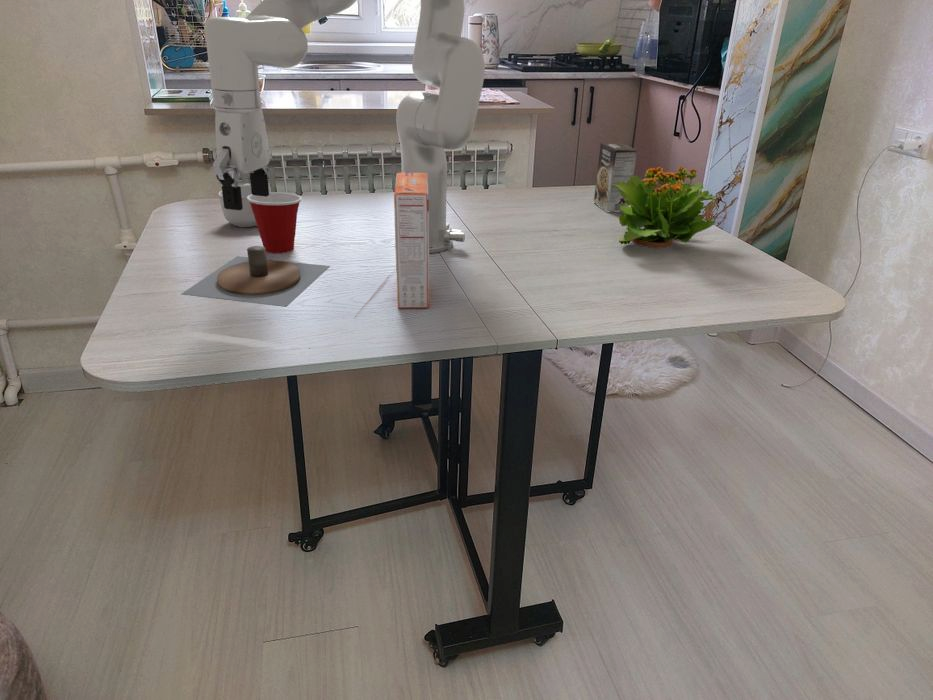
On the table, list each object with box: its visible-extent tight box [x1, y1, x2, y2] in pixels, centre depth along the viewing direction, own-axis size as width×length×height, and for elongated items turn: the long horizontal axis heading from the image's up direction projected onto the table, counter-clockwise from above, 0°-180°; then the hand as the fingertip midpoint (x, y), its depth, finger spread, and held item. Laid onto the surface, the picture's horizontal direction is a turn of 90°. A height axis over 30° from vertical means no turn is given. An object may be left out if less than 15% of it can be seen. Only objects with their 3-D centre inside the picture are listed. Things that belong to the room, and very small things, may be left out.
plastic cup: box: [247, 191, 303, 254], centre depth 140 cm, size 11×11×12 cm
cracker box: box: [393, 171, 430, 309], centre depth 120 cm, size 14×6×21 cm, turn 3°
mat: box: [181, 255, 331, 307], centre depth 127 cm, size 20×20×1 cm
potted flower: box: [611, 166, 717, 249], centre depth 152 cm, size 25×24×18 cm
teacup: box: [218, 183, 257, 228], centre depth 158 cm, size 14×11×8 cm
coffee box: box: [593, 142, 638, 212], centre depth 176 cm, size 9×6×16 cm
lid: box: [217, 245, 301, 295], centre depth 125 cm, size 15×15×6 cm
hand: (247, 202), depth 119 cm, fingers open, 9 cm apart
